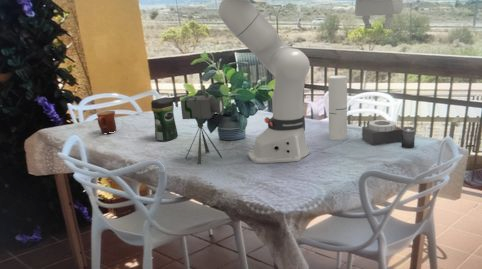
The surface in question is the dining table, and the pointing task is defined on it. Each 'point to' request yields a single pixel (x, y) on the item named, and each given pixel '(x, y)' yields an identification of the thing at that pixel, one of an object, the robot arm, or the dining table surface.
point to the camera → (201, 114)
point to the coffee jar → (164, 119)
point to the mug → (106, 121)
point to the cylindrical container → (337, 107)
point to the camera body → (382, 132)
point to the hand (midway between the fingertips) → (376, 28)
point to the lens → (408, 137)
